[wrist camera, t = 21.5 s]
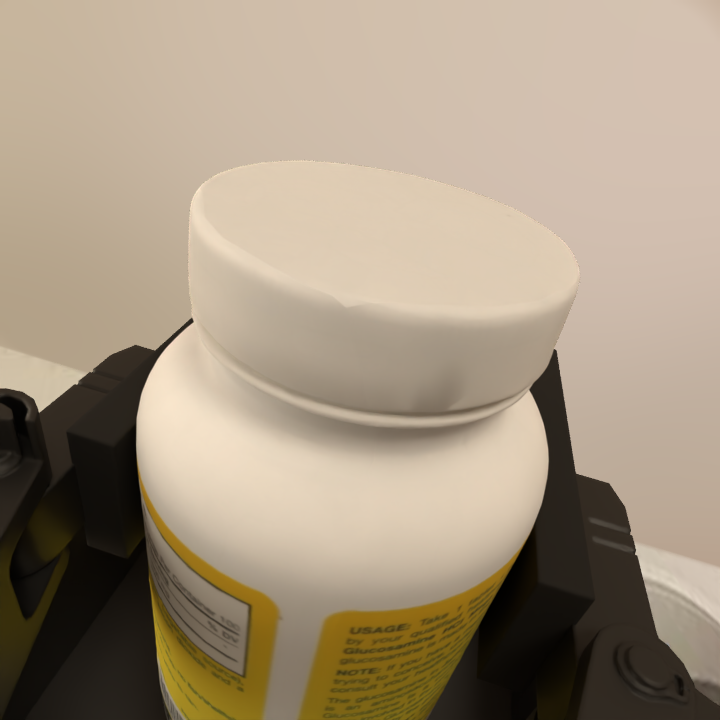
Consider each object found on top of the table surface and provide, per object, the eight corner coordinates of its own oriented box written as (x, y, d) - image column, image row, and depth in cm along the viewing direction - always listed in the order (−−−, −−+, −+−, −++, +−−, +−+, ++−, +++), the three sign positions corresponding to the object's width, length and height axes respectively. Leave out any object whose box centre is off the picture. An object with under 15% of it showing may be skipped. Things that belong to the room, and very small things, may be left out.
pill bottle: (428, 575, 15) (589, 197, 9) (418, 864, 10) (785, 446, 4) (219, 526, 15) (233, 119, 9) (102, 786, 10) (-57, 254, 4)
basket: (521, 596, 20) (593, 480, 16) (542, 1402, 8) (816, 1627, 5) (178, 486, 21) (174, 356, 18) (-223, 1038, 10) (-479, 990, 6)
